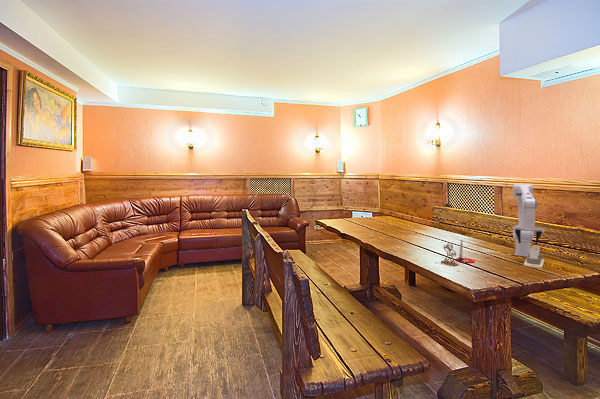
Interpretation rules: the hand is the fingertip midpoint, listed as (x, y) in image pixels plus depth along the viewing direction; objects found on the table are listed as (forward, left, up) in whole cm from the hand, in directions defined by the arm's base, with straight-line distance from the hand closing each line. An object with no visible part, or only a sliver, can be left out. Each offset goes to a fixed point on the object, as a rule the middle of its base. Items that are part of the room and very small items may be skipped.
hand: (527, 243), depth 184 cm
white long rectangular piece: (+2, +3, -6) cm, 7 cm away
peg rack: (+2, +3, -10) cm, 11 cm away
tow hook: (+18, -28, -11) cm, 35 cm away
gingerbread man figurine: (+29, -34, -11) cm, 46 cm away
